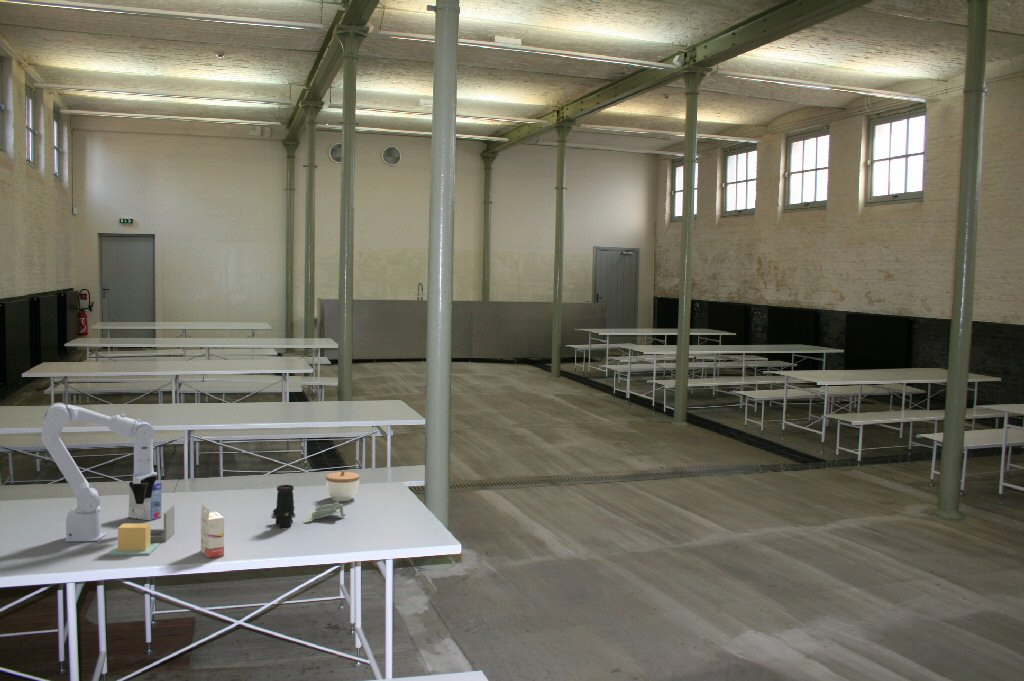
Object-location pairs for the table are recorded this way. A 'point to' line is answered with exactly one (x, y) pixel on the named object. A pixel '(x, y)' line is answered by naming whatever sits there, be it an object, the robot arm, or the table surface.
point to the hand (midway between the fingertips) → (143, 500)
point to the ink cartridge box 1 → (146, 505)
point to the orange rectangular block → (134, 537)
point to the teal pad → (138, 552)
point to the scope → (284, 506)
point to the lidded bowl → (342, 485)
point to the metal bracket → (325, 511)
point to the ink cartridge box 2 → (212, 533)
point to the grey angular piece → (168, 527)
